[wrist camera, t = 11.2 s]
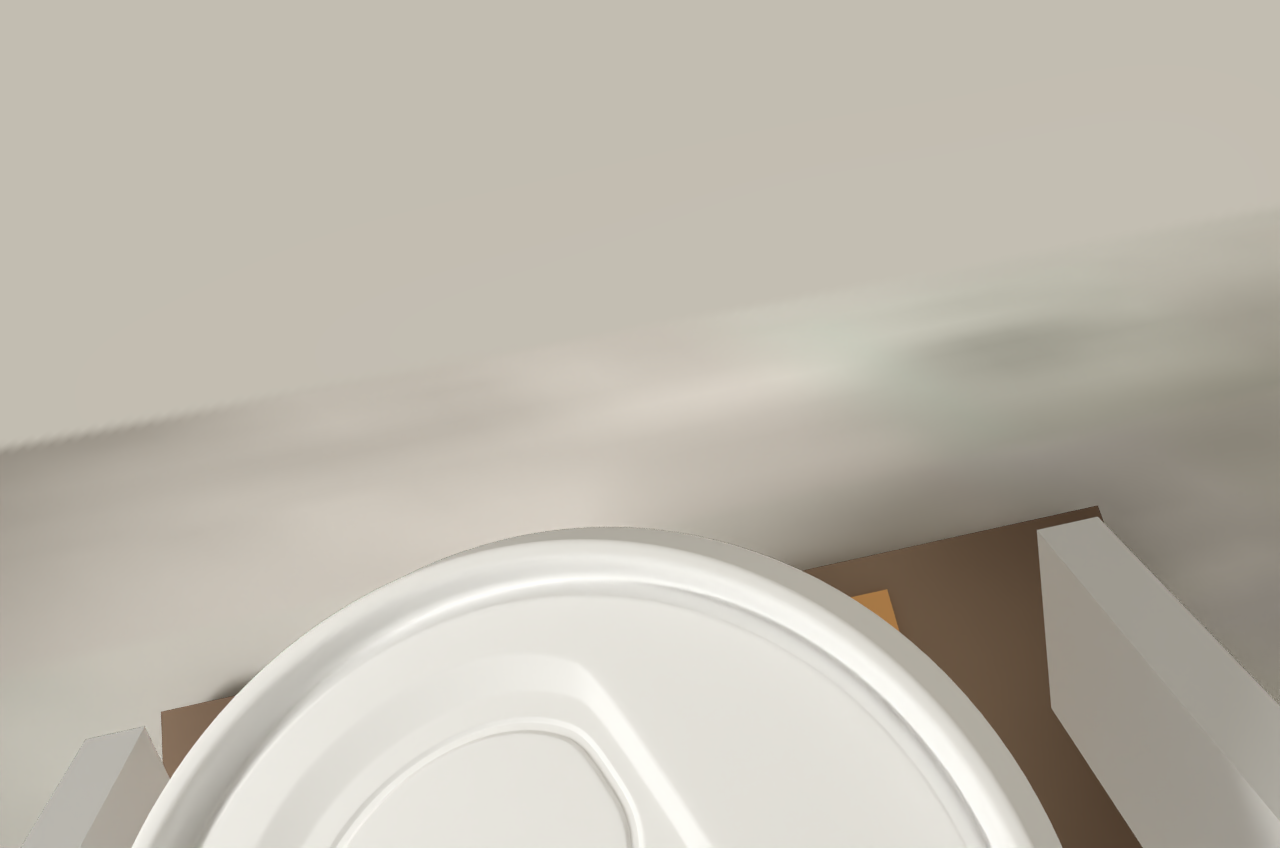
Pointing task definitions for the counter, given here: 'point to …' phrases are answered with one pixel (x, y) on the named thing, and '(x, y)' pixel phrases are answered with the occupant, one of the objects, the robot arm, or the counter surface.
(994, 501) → the counter surface
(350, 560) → the counter surface
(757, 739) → the beverage can
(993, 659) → the label board
